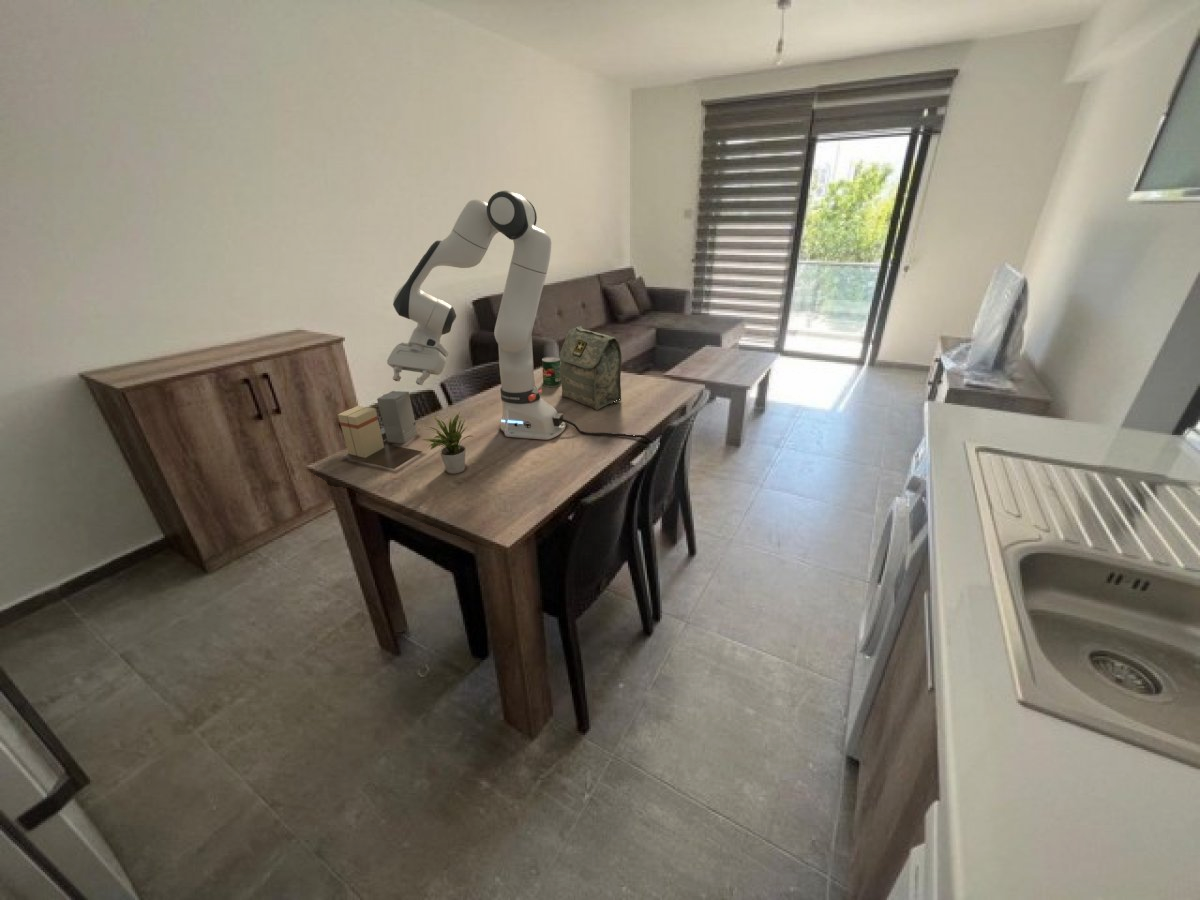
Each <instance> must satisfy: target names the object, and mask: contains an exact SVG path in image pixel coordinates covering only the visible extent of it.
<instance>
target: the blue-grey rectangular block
mask: <svg viewBox="0 0 1200 900" xmlns="http://www.w3.org/2000/svg"><path fill="white" fill-rule="evenodd" d="M380 430H381V435H382V439H383V441H384V440H387V437H386V433H385V429H384V426H383V427H380Z"/></svg>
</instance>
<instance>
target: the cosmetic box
mask: <svg viewBox="0 0 1200 900" xmlns="http://www.w3.org/2000/svg"><path fill="white" fill-rule="evenodd" d="M376 401H377V405H378V409H379V413H380V417H381V420H382V425H383V427H384V429H385V433H386V437H387V439H386V441H387V442H388V443H395V444H406V443H408V442H409V441H410V440H412V439H413V438H414V437H415V436H416V435H418V428H417V424H416V419H415V414H414V410H413V406H412V405H413V404H412V401H411V396H410V392H409V391H398V390H397V391H396V390H391V391H390V392H387V393H385V394H383V395H382V396H379V397H377V398H376Z"/></svg>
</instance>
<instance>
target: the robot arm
mask: <svg viewBox="0 0 1200 900" xmlns="http://www.w3.org/2000/svg"><path fill="white" fill-rule="evenodd" d="M537 221H538V216H537V211H536V209H535V206H534V205H533V204H532V202H531V201H529V199H527V198H525V197H524V196H523V195H521V194H520V193H516V192H513V191H512V190H511V191H510V190H500V191H498V192H495V193H493V194H492V196H491V197H490V198H489V200H488V202H486V201H484V200H482V199H471V200H469V201H468V202H467V203H466V204H465V206H464V207H463V209H462V210H461V212H460V214H459V215H458V217H457V219H456V220H455V223H454V225H453V227H452V229H451V232H450V234H448V235H447V236H446V237H444V239H443V240H435V241H434V242H433V243H432V244H431V245H430V246H429V248H428V249H427V250H426V252H425V253H424V254H423V256H422V257H421V259H420V260H419V262H418V263H417V265H416V266H415V267H414V269H413V271H412V272H411V274H410V275H409V277H408V279H407V281H405V283H404V284H402V285H401V286H400V288H399V289H398V290H397V291H396V293H395V295H394V297H393V301H392V306H393V308H394V310H395V312H396V313H397V315H398V316H399V317H402V318H404V319H407V320H412V321H413V322H415V323H417V324H416V327H415V328H414V329H413V331H412V333H411V335H410V338H409V340H408V341H407V342H400V343H398V344H397V345H395V346H394V348H393V349H392V351H391V352H390V354H389V356H388V358H387V360H386V363H387V365H388V367H390V368H392V369H393V376H392V381H394V382H400V381H401V379H402V376H401V375H400V373H402V371H408V372H414V373H421V376H419V377H417V378H416V380H415V383H416V384H417V385H419V386H423V385H424V383H425V382H426V380H427V379H429V378H430V376H431V375H434V376H435V375H436V376H439V375H441V374H442V373H443V371H444V369H445V366H446V363H447V357H448V356H449V355H450V352H449V350H448V349H447V348H446V347H445V346H444V345H443V344H442V343H441V337H442V336H443V335H446V334H448V333H450V332H451V330H452V327H453V324H454V322H455V320H456V318H457V314H456V311H455V309H454V307H453V306H452V305H451V304H449V303H448V302H446V301H445V300H442V299H441V298H438V297H435V296H434V295H431V294H429V293H428V292H425V291H424V290H422V289H421V286H422V285H423V283H424V281H425V280H426V279H427V277H428V276H429V275H430V273H431V271H432V270H433V269H434V268H436V267H443V266H444V267H452V268H459V269H469V268H470V269H471V268H473V267H476V266H478V265H479V264H481V262H482V260H483V259H484V257H485V256H486V253H487V251H488V249H489V247H490V245H491V242H492V241H493V238H494V237H495V236H496V234H499V233H500V234H502V235H503V236H505V237H506V238H507V239H508V240H511V241H512V242H513V251H512V255H511V260H510V264H509V268H508V271H507V272H508V273H507V277H506V280H505V284H504V289H503V292H502V297H501V301H500V305H499V309H498V314H497V316H496V317H497V318H496V321H495V325H494V330H493V331H494V333H493V334H494V335H493V336H494V338H495V341H496V343H497V345H498V346H497V347H498V367H499V376H500V386H501V387H500V400H501V402H502V415H501V416H502V417H501V419H500V422H501V423H500V430H501V431H502V432H503V433H504V436H505V437H508V438H517V439H518V438H519V439H532V440H544V441H545V440H546V441H548V440H551V439H554V438H556V437H558V436H559V435H560V434H562V433H563V432H564V430H565V429H566V426H567V425H566V424H569V425H570V426H572V427H573V428H574V429H575V430H576V431H577V432H578V433H579V434H582V435H587V436H608V437H626V438H641V439H645V440H648V442H649V443H654V441H653V439H652V438H651V437H649V436H647V435H645V434H631V435H626V434H627V433H617V434H612V433H613V432H588V431H583V430H581V429H580V428H579V427H578V426H577V424H576V423H574V422H572V421H570V420H568V419H565V418H564V413H563V412H558V411H557V410H556V408H554V406H552V405H550V404H549V403H548V402H546V400H544V399H543V398H542V397H541V395H540V394H542V393H543V389H542V388H541V389H539V390H538V388H537V386H536V385H535V384H536V383H535V372H534V371H535V369H534V354H533V335H532V334H533V330H534V326H535V322H536V317H537V314H538V309H539V305H540V300H541V295H542V292H543V289H544V285H545V281H546V278H547V273H548V270H549V266H550V265H549V264H550V259H551V253H552V239H551V237H550V236H549V234H548V232H546V231H545V230H543V229H541V228H539V227H537V226H536V225H537ZM633 435H635V436H633ZM652 523H654V524H655V523H656V517H654V518H653V520H652Z"/></svg>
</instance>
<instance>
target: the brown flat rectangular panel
mask: <svg viewBox="0 0 1200 900" xmlns="http://www.w3.org/2000/svg"><path fill="white" fill-rule="evenodd" d="M421 453H423V451H422V450H418V449H414V448H409V447H404V446H399V445H393V444H389V443H384V448H382V449H381V450H379V451H377V452H375V453H373V454H371V455H370V456H368V457H366V458H364V457H360V456H355V455H351V454H348V453H347V454H346V455H344V456H342V458H344V459H348V460H353V461H357V462H361V463H366V464H370V465H375V466H380V467H384V468H388V469H392V470H395V469H397V468H399V467H400V466H402V465H403V464H405V463H407V462H409V461H410V460H412V459H413V458H415V457H417V456H418V455H420V454H421Z"/></svg>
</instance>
